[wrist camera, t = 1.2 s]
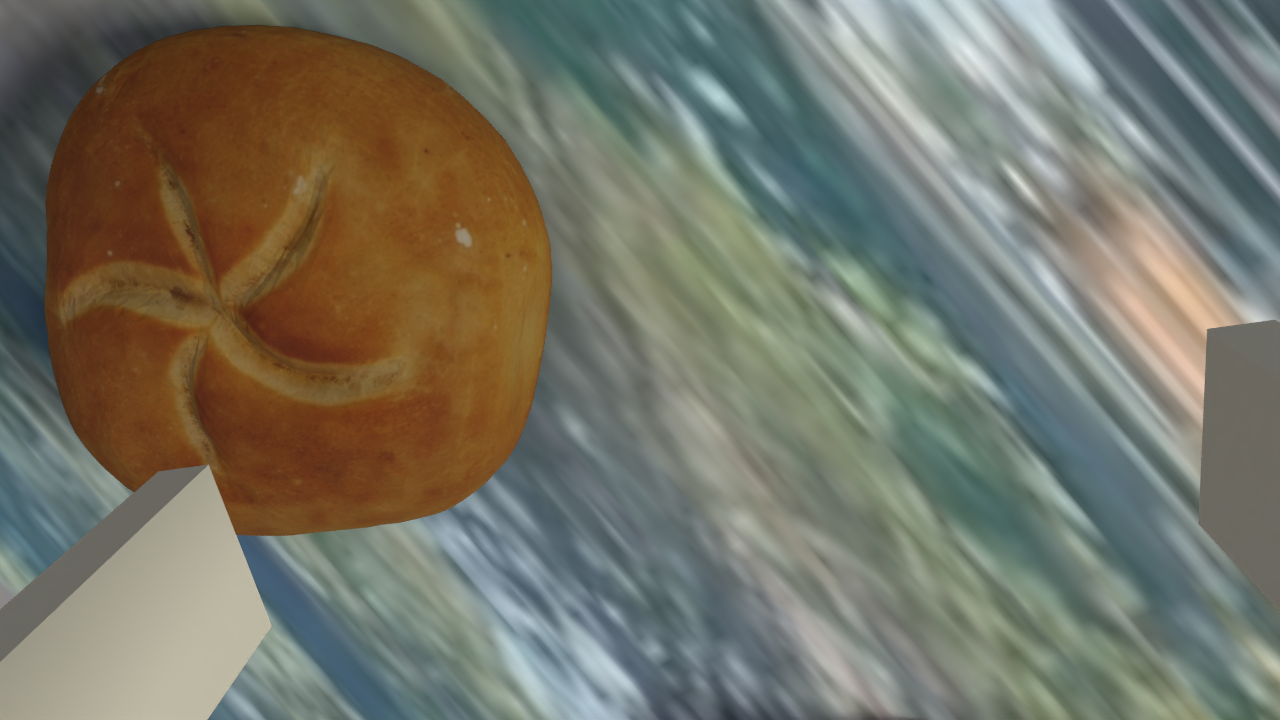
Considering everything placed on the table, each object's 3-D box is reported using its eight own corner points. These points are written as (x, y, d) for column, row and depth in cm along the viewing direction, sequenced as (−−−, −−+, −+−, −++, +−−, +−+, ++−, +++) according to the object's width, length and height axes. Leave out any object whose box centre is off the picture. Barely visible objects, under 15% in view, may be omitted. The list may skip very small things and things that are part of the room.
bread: (-9, 168, 43) (-208, 213, 33) (416, -79, 38) (322, -107, 29) (265, 554, 50) (163, 681, 40) (656, 387, 45) (644, 488, 35)
